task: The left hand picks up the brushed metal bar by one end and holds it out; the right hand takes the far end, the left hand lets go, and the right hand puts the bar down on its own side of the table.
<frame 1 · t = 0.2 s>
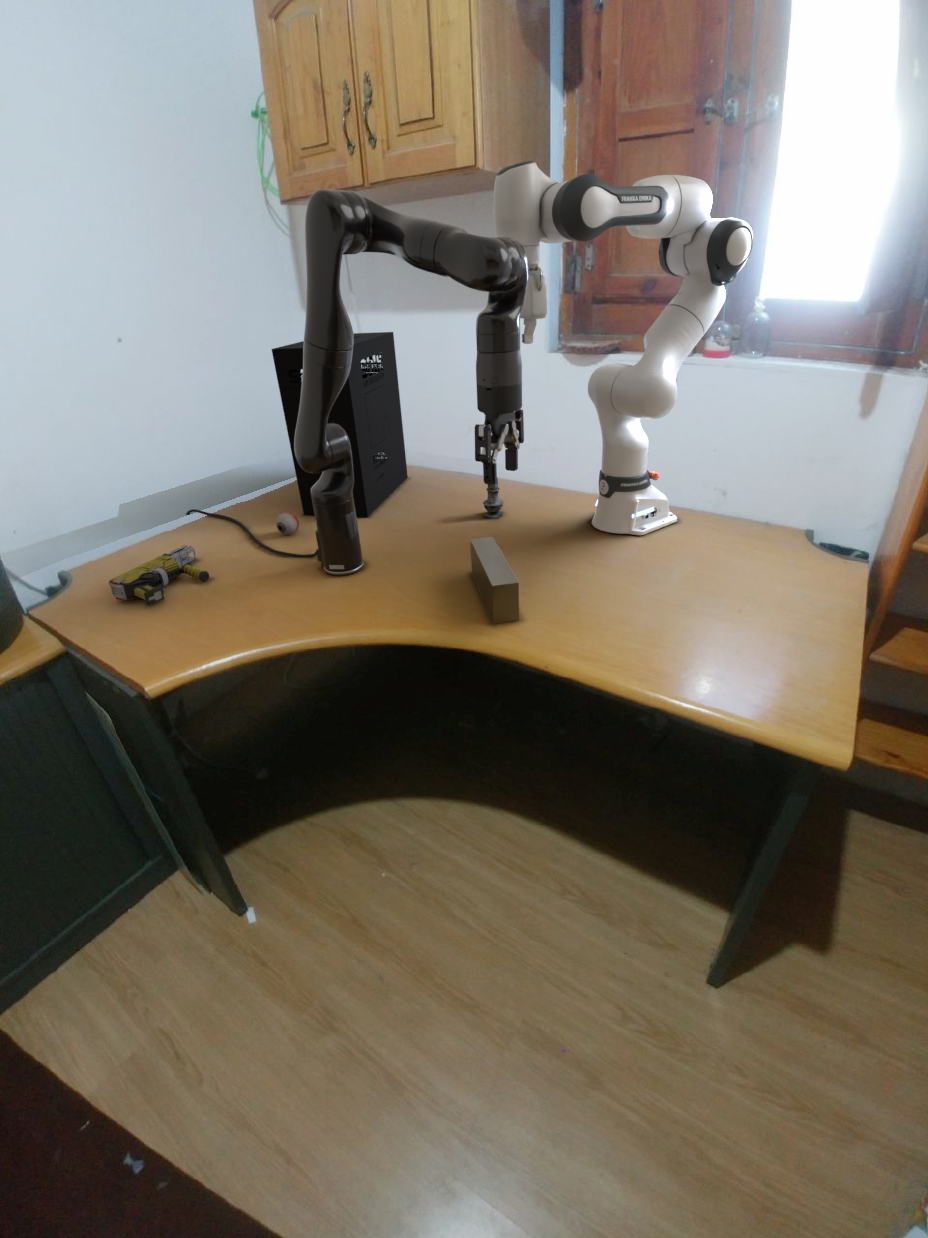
left hand: (501, 476, 107), 28 cm above the table, tool pointing down, fingers open, 8 cm apart
right hand: (517, 341, 125), 47 cm above the table, tool pointing down, fingers open, 8 cm apart
bar: (493, 595, 128), on the table
salt shaker: (493, 515, 170), on the table
cardboard box: (359, 495, 192), on the table
toy gun: (175, 583, 142), on the table
eyeball: (289, 534, 165), on the table
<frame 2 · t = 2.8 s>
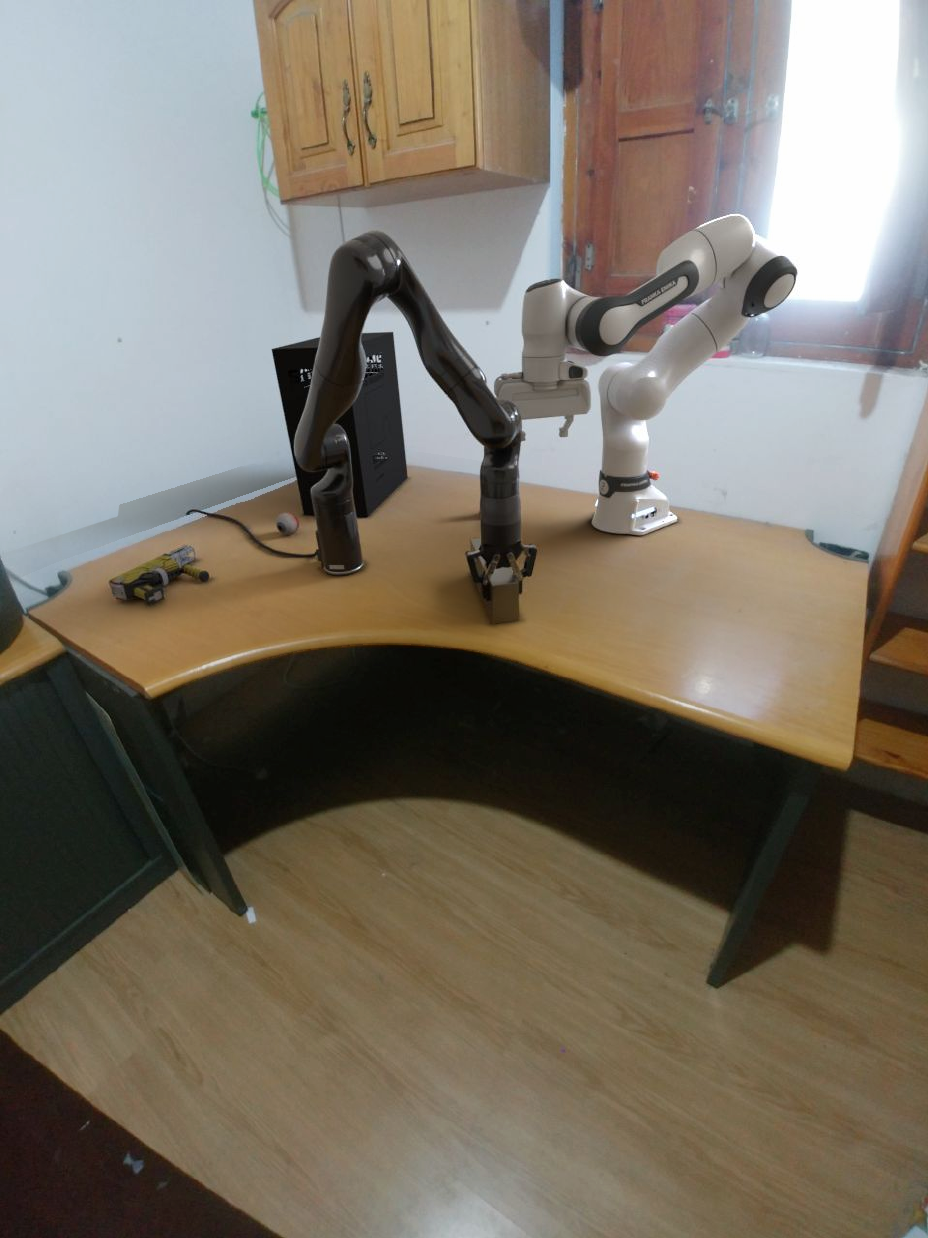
left hand: (502, 597, 119), 4 cm above the table, tool pointing down, fingers closed on bar, 5 cm apart
right hand: (542, 438, 130), 28 cm above the table, tool pointing down, fingers open, 8 cm apart
bar: (493, 595, 128), on the table, touching left hand
everything else where it was.
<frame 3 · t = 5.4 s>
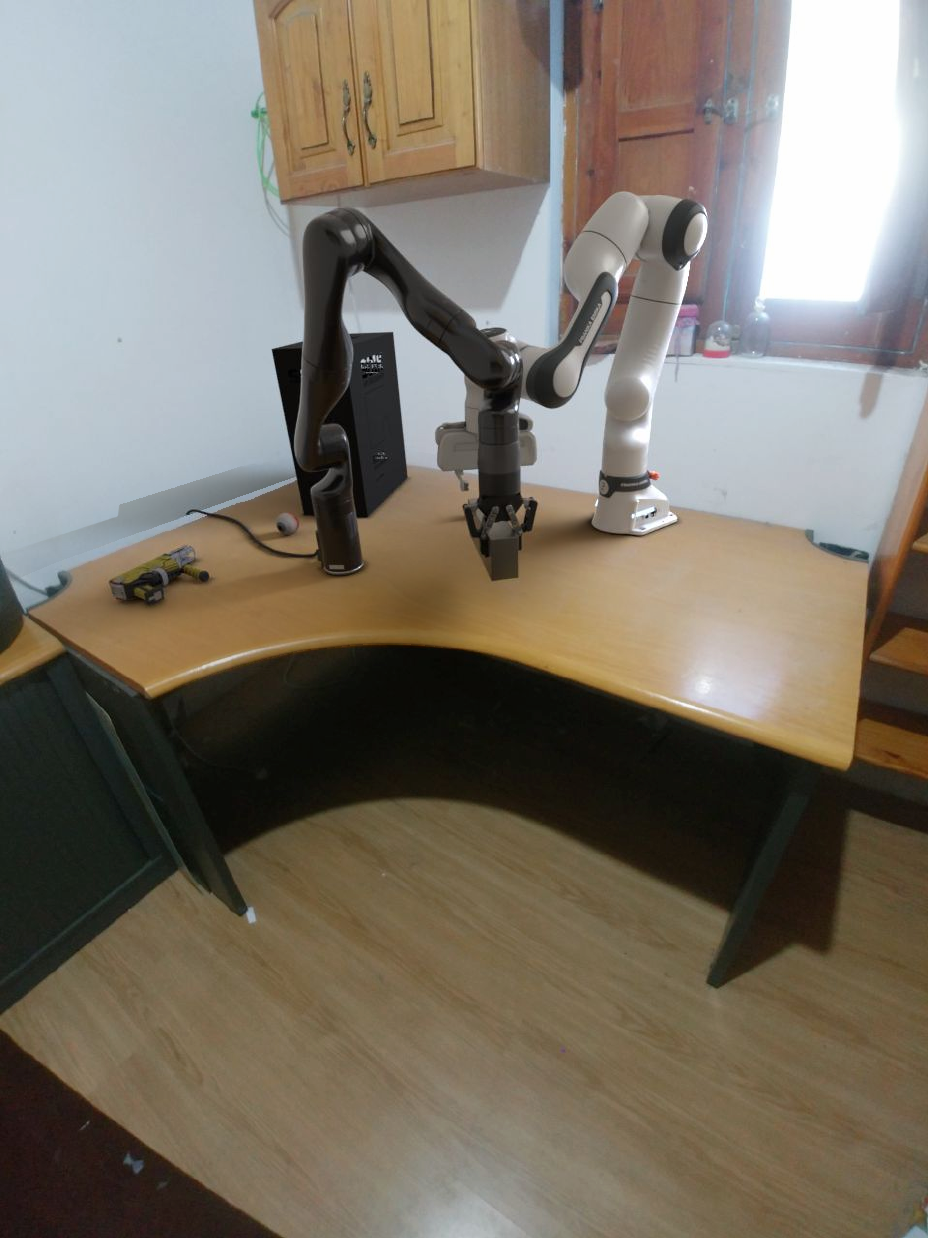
left hand: (501, 553, 115), 13 cm above the table, tool pointing down, fingers closed on bar, 5 cm apart
right hand: (486, 488, 125), 21 cm above the table, tool pointing down, fingers open, 8 cm apart
bar: (492, 555, 124), point 9 cm above the table, touching left hand
everything else where it was.
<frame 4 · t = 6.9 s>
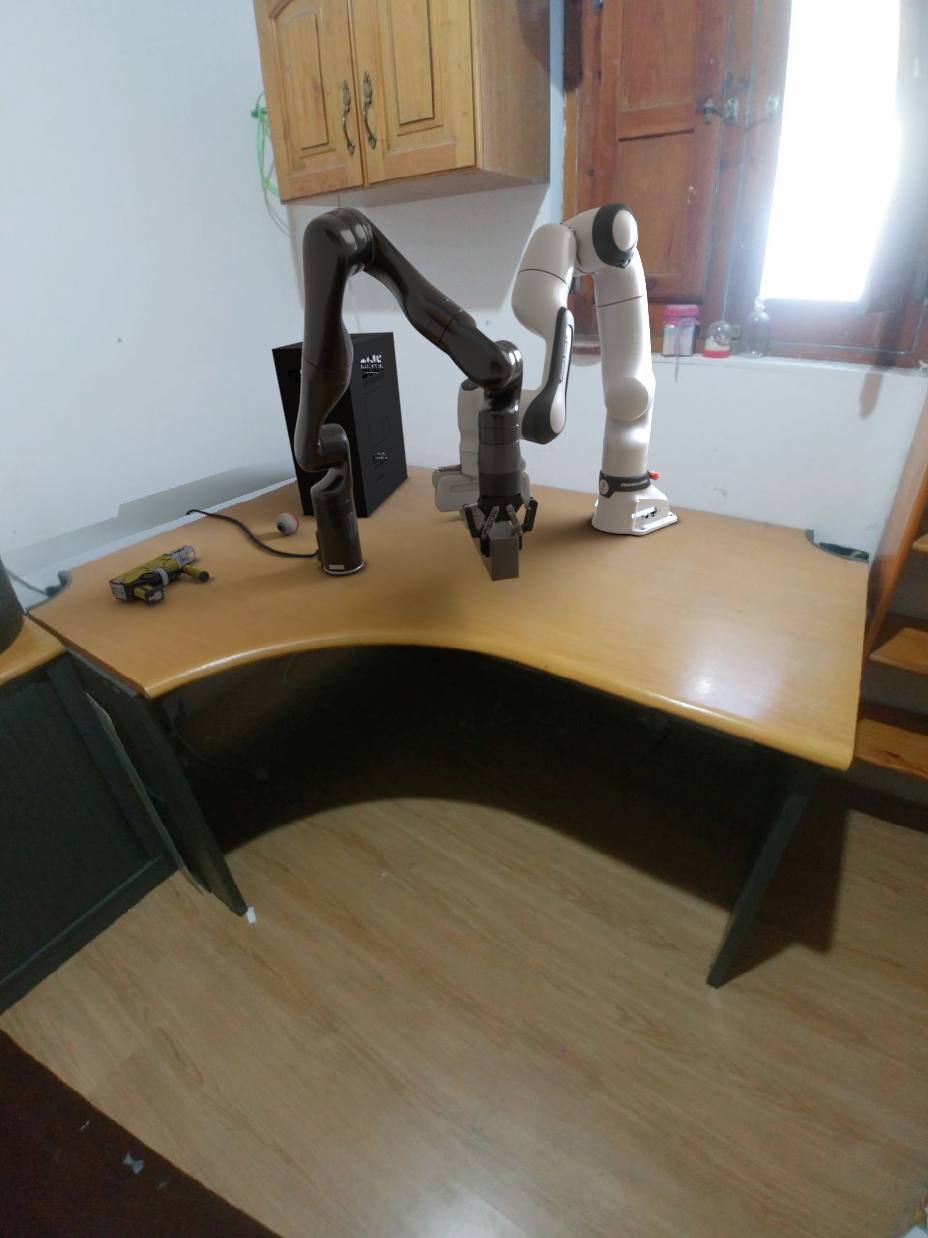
left hand: (501, 553, 115), 13 cm above the table, tool pointing down, fingers closed on bar, 5 cm apart
right hand: (484, 526, 129), 13 cm above the table, tool pointing down, fingers closed on bar, 5 cm apart
bar: (492, 555, 124), point 9 cm above the table, touching right hand, left hand
everything else where it was.
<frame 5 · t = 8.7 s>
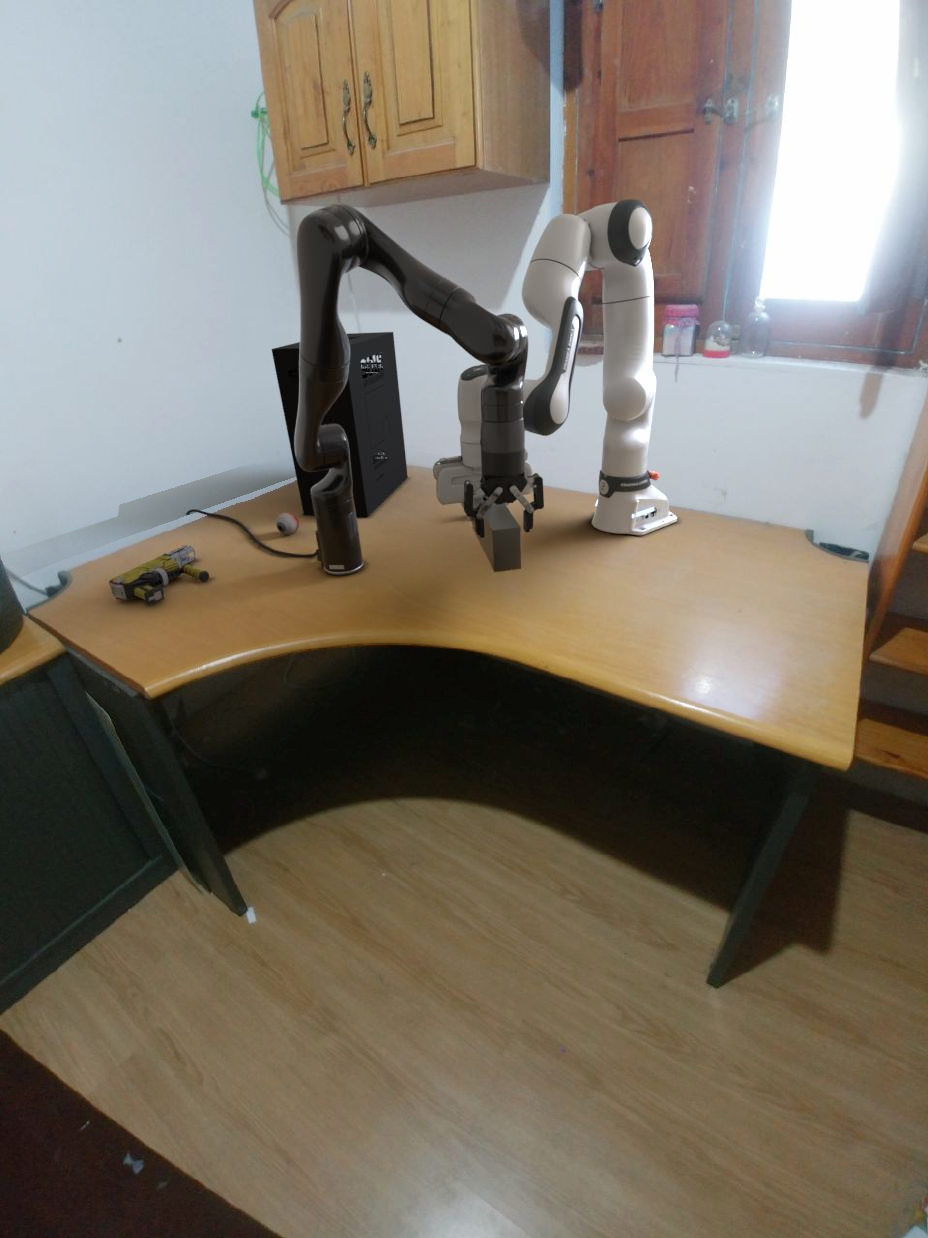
left hand: (504, 533, 111), 18 cm above the table, tool pointing down, fingers open, 8 cm apart
right hand: (486, 518, 128), 14 cm above the table, tool pointing down, fingers closed on bar, 5 cm apart
bar: (495, 546, 122), point 11 cm above the table, touching right hand
everything else where it was.
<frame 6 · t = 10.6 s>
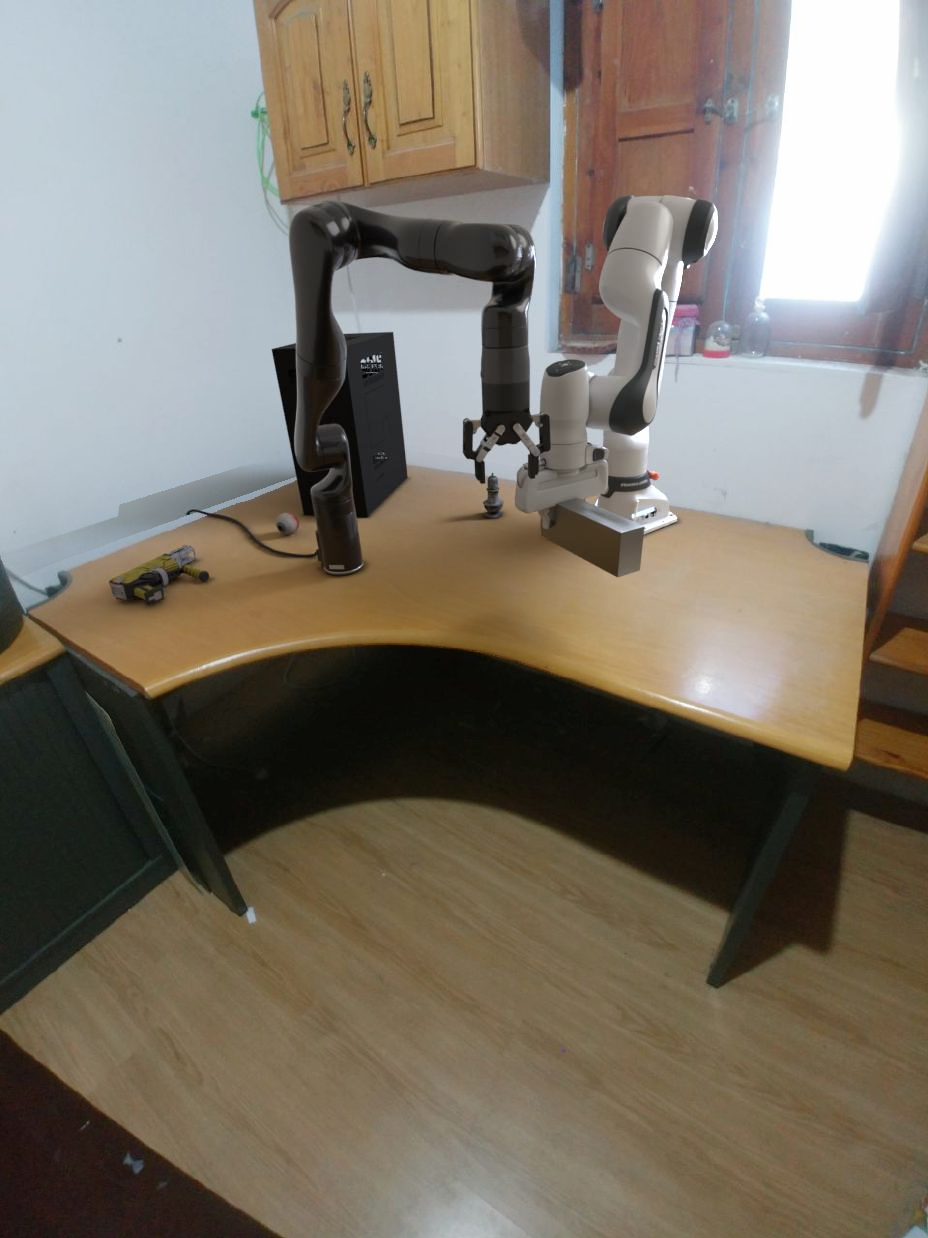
left hand: (507, 480, 101), 29 cm above the table, tool pointing down, fingers open, 8 cm apart
right hand: (561, 523, 120), 15 cm above the table, tool pointing down, fingers closed on bar, 5 cm apart
bar: (586, 552, 115), point 12 cm above the table, touching right hand
everything else where it was.
when the right hand's fingers open (4 cm above the table, at t = 14.2 s): bar stays where it is, on the table.
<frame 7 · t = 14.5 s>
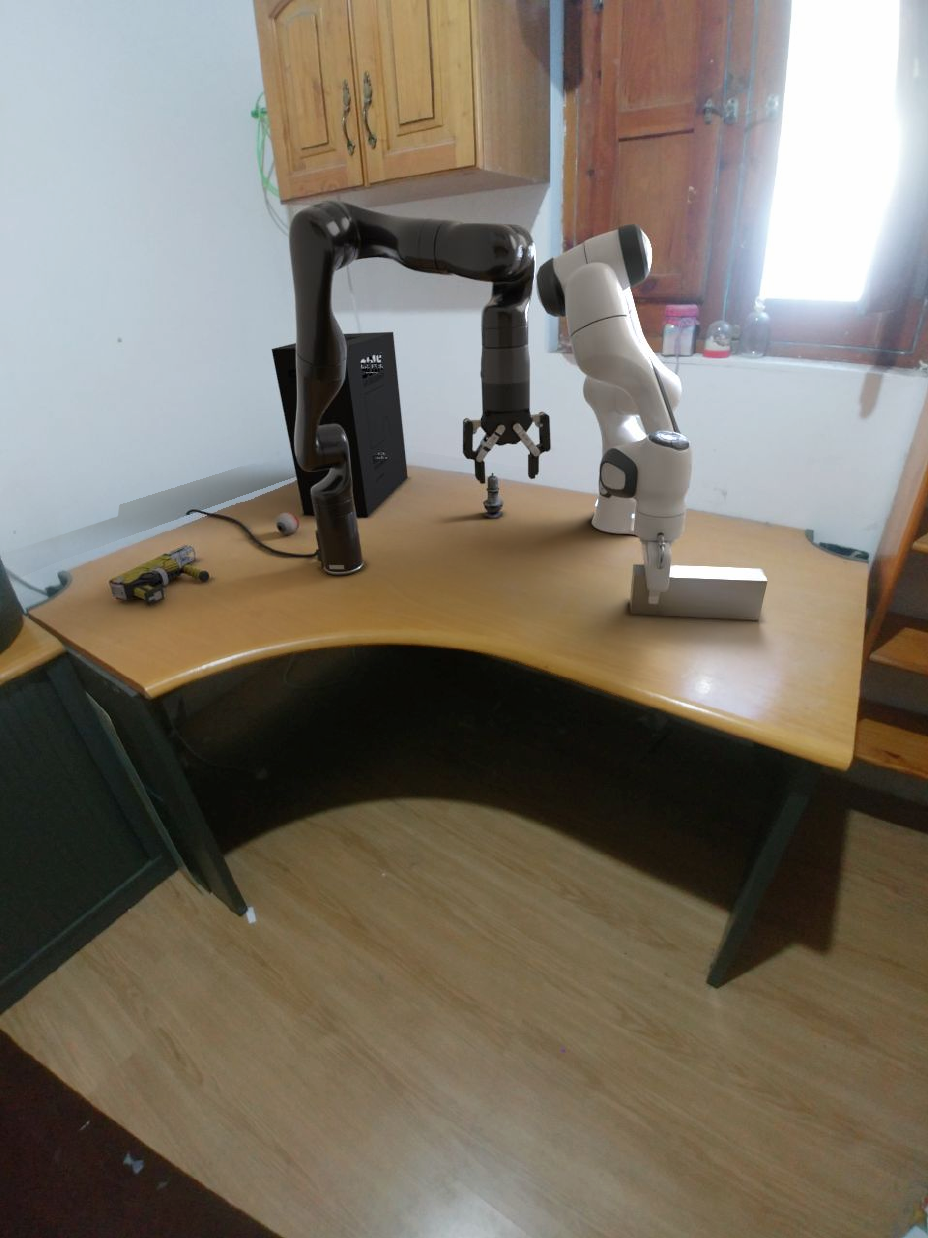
left hand: (507, 480, 101), 29 cm above the table, tool pointing down, fingers open, 8 cm apart
right hand: (651, 590, 118), 4 cm above the table, tool pointing down, fingers open, 8 cm apart
bar: (691, 610, 118), on the table
everything else where it was.
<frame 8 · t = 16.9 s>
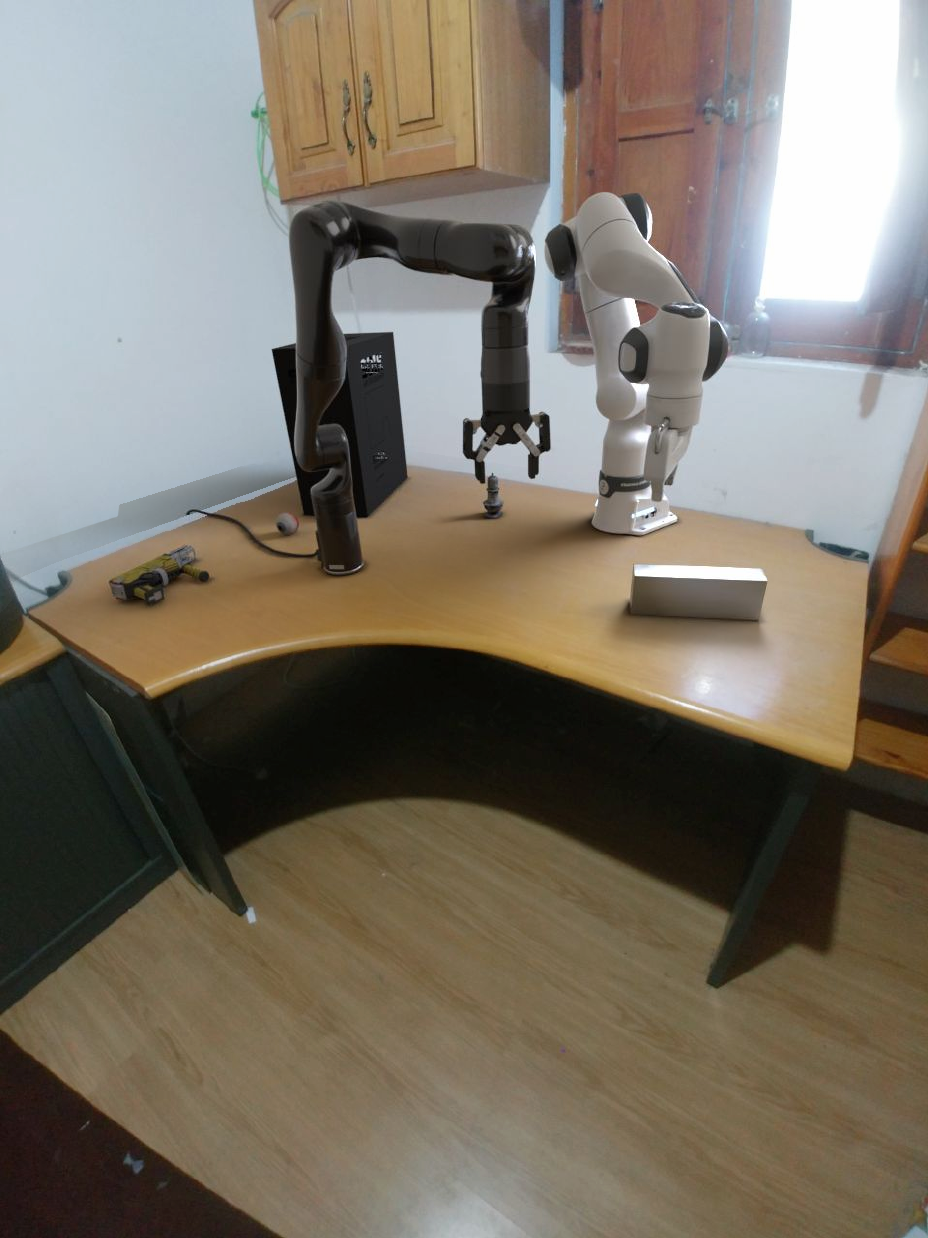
left hand: (507, 480, 101), 29 cm above the table, tool pointing down, fingers open, 8 cm apart
right hand: (662, 492, 108), 24 cm above the table, tool pointing down, fingers open, 8 cm apart
nothing on the table moved.
at the end: bar inside the target area (8.1 cm from its centre), on the table; the left hand is holding nothing; the right hand is holding nothing; bar at rest at the end (0.0 cm/s) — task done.
